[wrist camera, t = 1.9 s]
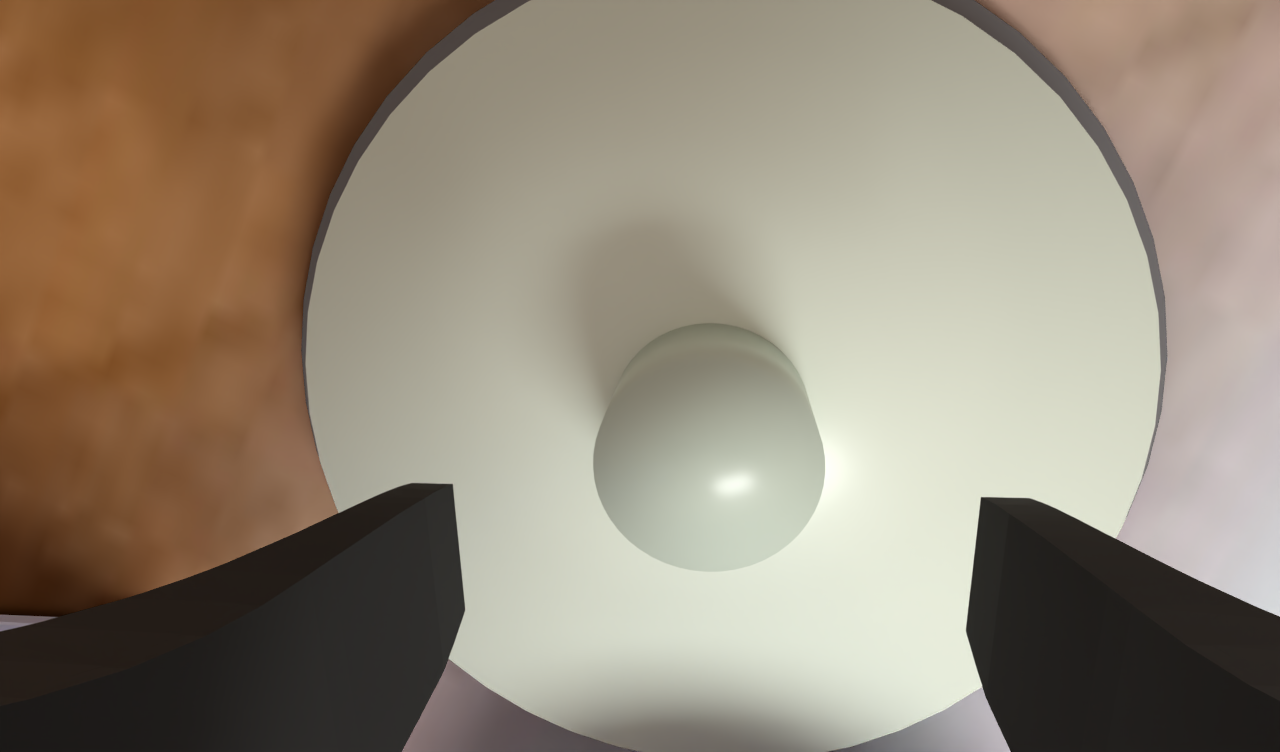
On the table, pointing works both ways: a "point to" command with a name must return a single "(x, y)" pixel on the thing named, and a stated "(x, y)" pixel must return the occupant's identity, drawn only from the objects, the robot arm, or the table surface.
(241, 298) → the table surface
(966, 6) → the mat
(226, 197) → the table surface
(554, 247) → the lid
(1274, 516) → the table surface
